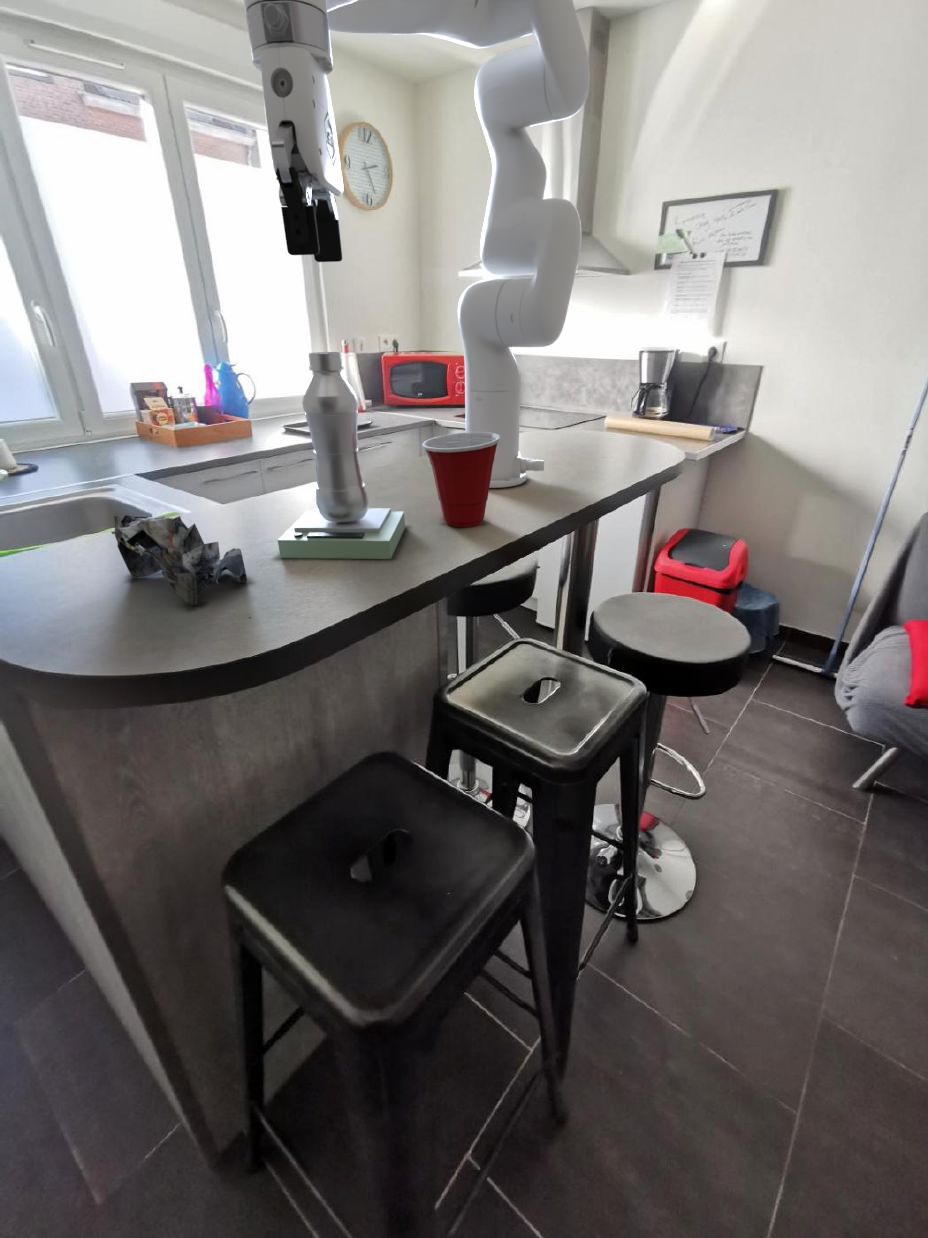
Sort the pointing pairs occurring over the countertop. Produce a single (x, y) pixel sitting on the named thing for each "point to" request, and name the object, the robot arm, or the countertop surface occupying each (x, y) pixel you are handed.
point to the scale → (344, 536)
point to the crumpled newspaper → (174, 554)
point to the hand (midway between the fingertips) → (317, 258)
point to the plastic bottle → (334, 439)
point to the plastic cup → (462, 474)
